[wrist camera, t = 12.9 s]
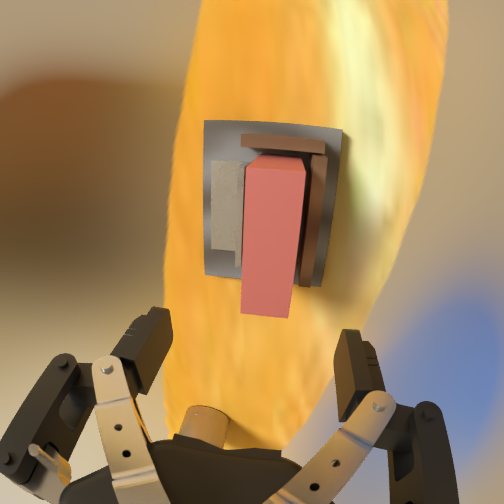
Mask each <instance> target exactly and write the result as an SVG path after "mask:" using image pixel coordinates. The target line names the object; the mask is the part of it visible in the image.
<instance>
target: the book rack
mask: <svg viewBox="0 0 504 504" xmlns="http://www.w3.org/2000/svg"><path fill="white" fill-rule="evenodd" d="M342 131H343V130H341V129H334V128H326V127H318V126H310V125H300V124H289V123H276V122H260V121H231V120H204V149H203V226H204V265H205V275H212V276H221V277H229V278H238V279H242V265H241V267H235V251H228V250H218V249H211V161H212V160H224V161H245V162H252V161H253V160H254V159H256V158H257V157H258V156H259V155H260V154H274V155H286V156H297V157H301V159H302V162H303V165H304V168H305V171H306V176H305V187H304V197H303V206H302V216H301V225H300V233H299V242H298V250H297V258H296V265H295V273H294V280H293V284H296V285H299V286H302V287H310V286H318V287H321V282H322V277H323V272H324V266H325V261H326V255H327V249H328V243H329V237H330V231H331V224H332V217H333V210H334V203H335V196H336V188H337V180H338V171H339V162H340V153H341V142H342Z"/></svg>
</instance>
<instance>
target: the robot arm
mask: <svg viewBox="0 0 504 504" xmlns="http://www.w3.org/2000/svg"><path fill="white" fill-rule="evenodd" d="M172 341H173V330H172V324H171V317H170V311H169V309H166V308H160V307H155V306H153V307H152V308H151V309H150V311H149V312H148V314H147V315H141V316H140V317H138V318H137V319H135V320H134V321H133V322H132V324H131V325H130V327H129V329H127V331H126V332H125V335H123V337H122V338H121V339H120V341H119V343H118V344H117V345H116V347H115V348H114V350H113V351H112V353H111V354H110V355H106V356H102V357H99V358H98V359H96V360H95V361H94V363H77V361H76V359H75V357H74V356H73V355H71V354H66V353H64V354H60V355H58V356H56V357H55V358H53V360H52V361H51V362H50V364H49V365H48V366H47V368H46V369H45V371H44V372H43V374H42V375H41V376H40V378H39V379H38V381H37V382H36V384H35V385H34V387H33V388H32V390H31V391H30V393H29V394H28V396H27V397H26V399H25V401H24V402H23V404H22V405H21V407H20V408H19V410H18V412H17V413H16V415H15V417H14V419H13V420H12V422H11V423H10V425H9V427H8V428H7V430H6V432H5V434H4V435H3V437H2V439H1V441H0V472H1V473H2V474H3V475H5V476H6V477H7V478H9V479H10V480H11V481H12V482H13V483H14V484H16V485H17V486H19V487H20V488H22V489H23V490H25V491H27V492H29V493H31V494H33V495H34V496H36V497H38V498H39V499H42V500H46V501H47V502H49V503H51V504H335V503H334V502H333V501H332V500H333V499H334V498H335V496H336V495H337V494H338V493H339V492H340V491H341V489H342V488H343V487H344V486H345V485H346V483H347V482H348V481H349V480H350V478H351V477H352V476H353V475H354V473H355V472H356V471H357V469H358V468H359V467H360V465H361V464H362V463H363V461H364V460H365V458H366V457H367V455H368V454H369V453H370V451H371V450H372V448H373V447H376V448H380V449H385V450H387V452H388V467H389V486H390V504H459V498H458V489H457V482H456V475H455V469H454V464H453V458H452V453H451V449H450V444H449V440H448V435H447V431H446V426H445V422H444V419H443V415H442V411H441V409H440V408H439V407H438V406H437V405H436V404H434V403H432V402H429V401H424V402H420V403H419V404H417V406H416V407H415V408H413V407H408V406H403V405H399V404H397V403H396V402H395V400H394V398H393V397H392V396H391V395H390V394H388V393H387V392H386V390H385V386H384V382H383V378H382V374H381V370H380V367H379V363H378V360H377V355H376V352H375V349H374V348H373V346H372V345H371V344H370V343H369V342H368V341H362V339H361V335H360V331H359V330H352V329H343V330H342V332H341V335H340V338H339V341H338V344H337V348H336V351H335V354H334V374H335V384H336V394H337V404H338V417H339V422H346V423H345V424H344V425H343V426H342V427H341V428H339V429H338V430H337V432H335V434H334V435H333V436H332V437H331V438H330V439H329V440H328V442H327V443H326V444H325V445H324V446H323V447H322V448H321V449H320V450H319V452H318V453H317V454H316V455H315V456H314V457H313V458H312V459H311V460H310V461H309V462H308V463H307V464H306V465H305V466H304V467H303V468H302V467H301V466H300V465H298V464H296V463H295V462H293V461H291V460H289V459H286V458H283V457H281V450H269V449H259V448H249V449H236V450H224V449H223V447H224V443H225V439H226V435H227V430H228V426H229V419H228V417H227V416H226V415H225V414H223V413H222V412H220V411H218V410H216V409H213V408H210V407H205V406H193V407H190V408H188V409H187V411H186V414H185V417H184V420H183V423H182V425H181V428H180V431H179V434H174V437H173V440H171V439H169V440H160V441H156V442H152V441H151V439H150V436H149V434H148V432H147V429H146V427H145V424H144V421H143V418H142V415H141V413H140V410H139V407H138V404H137V401H136V397H137V395H138V393H141V394H144V395H147V393H148V391H149V389H150V387H151V385H152V383H153V381H154V379H155V377H156V375H157V373H158V371H159V369H160V367H161V365H162V363H163V361H164V359H165V357H166V355H167V353H168V351H169V349H170V347H171V344H172ZM63 401H64V402H63ZM94 407H95V413H96V418H97V423H98V427H99V432H100V436H101V440H102V444H103V448H104V451H105V455H106V459H107V462H108V466H106V467H104V468H101V469H100V470H97V471H95V472H93V473H91V474H89V475H87V476H85V477H82V478H80V479H78V480H76V481H73V482H71V483H70V480H71V467H70V464H69V463H68V461H69V458H70V456H71V454H72V452H73V449H74V447H75V445H76V443H77V441H78V439H79V437H80V435H81V432H82V430H83V428H84V426H85V424H86V422H87V420H88V418H89V416H90V414H91V412H92V410H93V408H94Z"/></svg>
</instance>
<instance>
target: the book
mask: <svg viewBox="0 0 504 504" xmlns="http://www.w3.org/2000/svg"><path fill="white" fill-rule="evenodd" d="M305 176H306V171H305V168H304V165H303V162H302V159H301V157H297V156H286V155H274V154H260V155H259V156H258V157H257V158H256V159H254V160H253V161H252V162H251V163H250V164H249V165H248V166H247V167H246V180H245V204H244V230H243V257H242V286H241V313H243V314H252V315H261V316H270V317H280V318H288V315H289V308H290V302H291V295H292V288H293V280H294V273H295V265H296V258H297V250H298V242H299V233H300V225H301V216H302V206H303V197H304V187H305Z"/></svg>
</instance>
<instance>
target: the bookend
mask: <svg viewBox="0 0 504 504" xmlns="http://www.w3.org/2000/svg"><path fill="white" fill-rule="evenodd" d="M250 163H251V162H245V161H224V160H212V161H211V249H218V250H228V251H235V267H241V265H242V257H243V230H244V204H245V180H246V167H247V166H248V165H249V164H250Z"/></svg>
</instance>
